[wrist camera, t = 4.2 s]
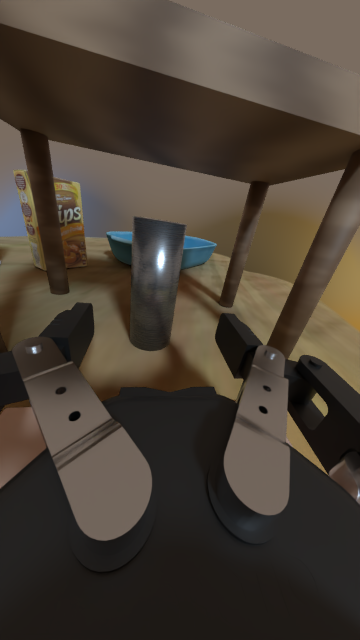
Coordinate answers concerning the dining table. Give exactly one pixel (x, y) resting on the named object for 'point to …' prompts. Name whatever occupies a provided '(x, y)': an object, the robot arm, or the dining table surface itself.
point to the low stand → (183, 117)
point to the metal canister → (154, 280)
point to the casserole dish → (192, 254)
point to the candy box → (68, 218)
